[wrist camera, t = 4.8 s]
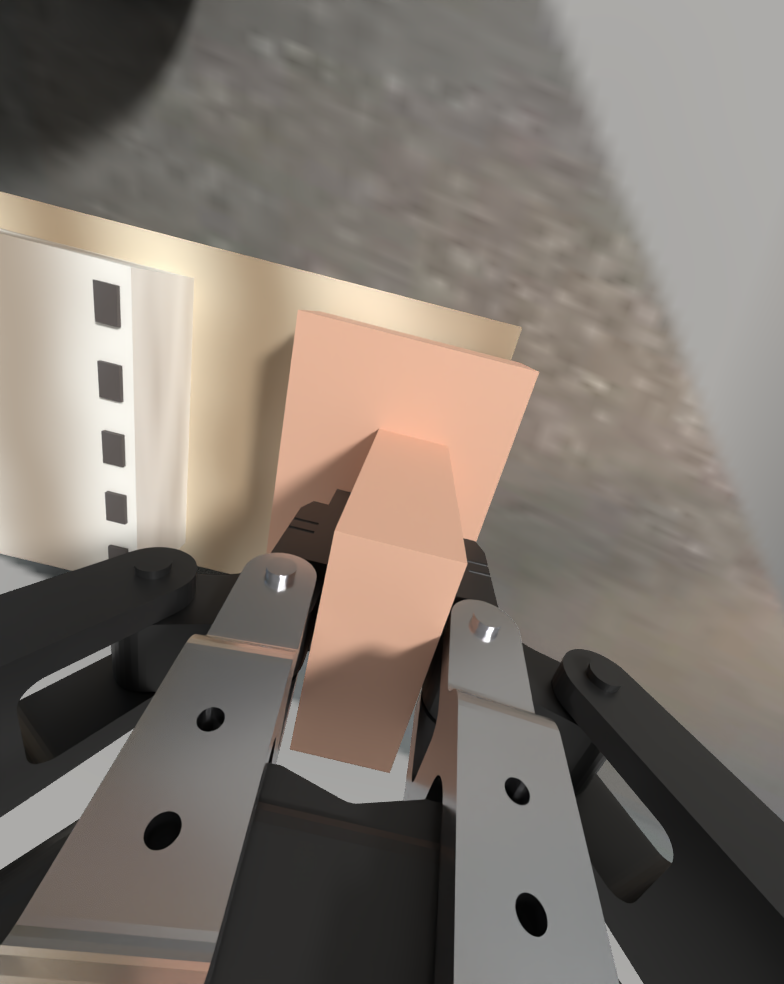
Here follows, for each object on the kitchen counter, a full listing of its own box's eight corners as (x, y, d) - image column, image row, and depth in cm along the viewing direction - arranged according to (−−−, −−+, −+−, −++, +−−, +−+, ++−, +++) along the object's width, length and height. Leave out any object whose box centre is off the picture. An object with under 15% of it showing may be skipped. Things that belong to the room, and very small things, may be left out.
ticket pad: (48, 500, 19) (-78, 560, 14) (11, 196, 14) (-196, 135, 9) (422, 592, 19) (421, 680, 15) (510, 326, 14) (550, 330, 10)
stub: (281, 572, 17) (154, 793, 9) (320, 311, 13) (150, 298, 5) (433, 610, 17) (438, 860, 9) (519, 363, 13) (663, 430, 5)
